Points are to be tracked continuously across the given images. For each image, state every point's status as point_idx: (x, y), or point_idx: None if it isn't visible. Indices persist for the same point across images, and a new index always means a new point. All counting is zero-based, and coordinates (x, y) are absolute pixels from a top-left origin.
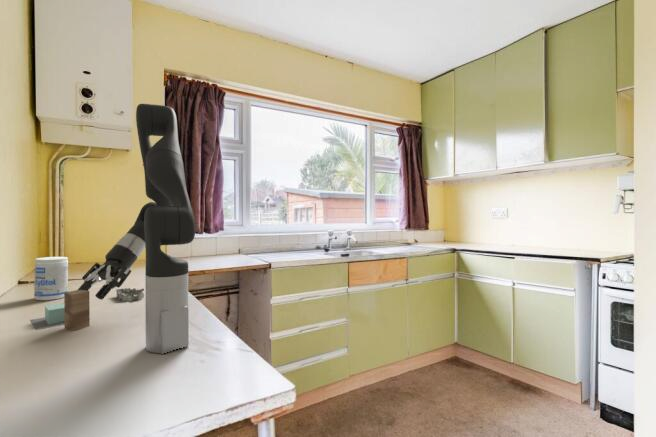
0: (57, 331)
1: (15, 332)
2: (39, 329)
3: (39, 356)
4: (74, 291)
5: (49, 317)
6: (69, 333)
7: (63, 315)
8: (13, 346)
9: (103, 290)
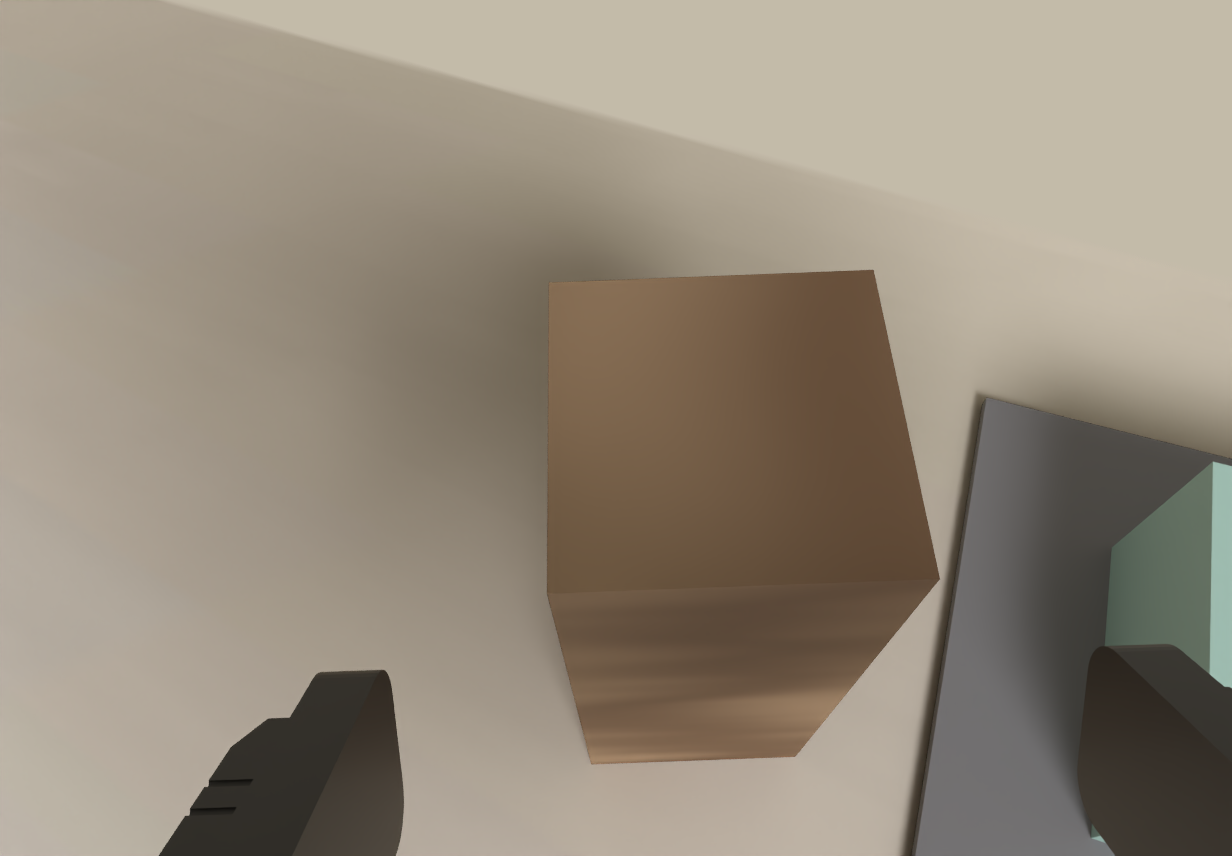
0: None
1: (1108, 307)
2: (980, 421)
3: (245, 165)
4: (817, 411)
5: (1158, 519)
6: None
7: None
8: (664, 169)
9: (231, 813)
